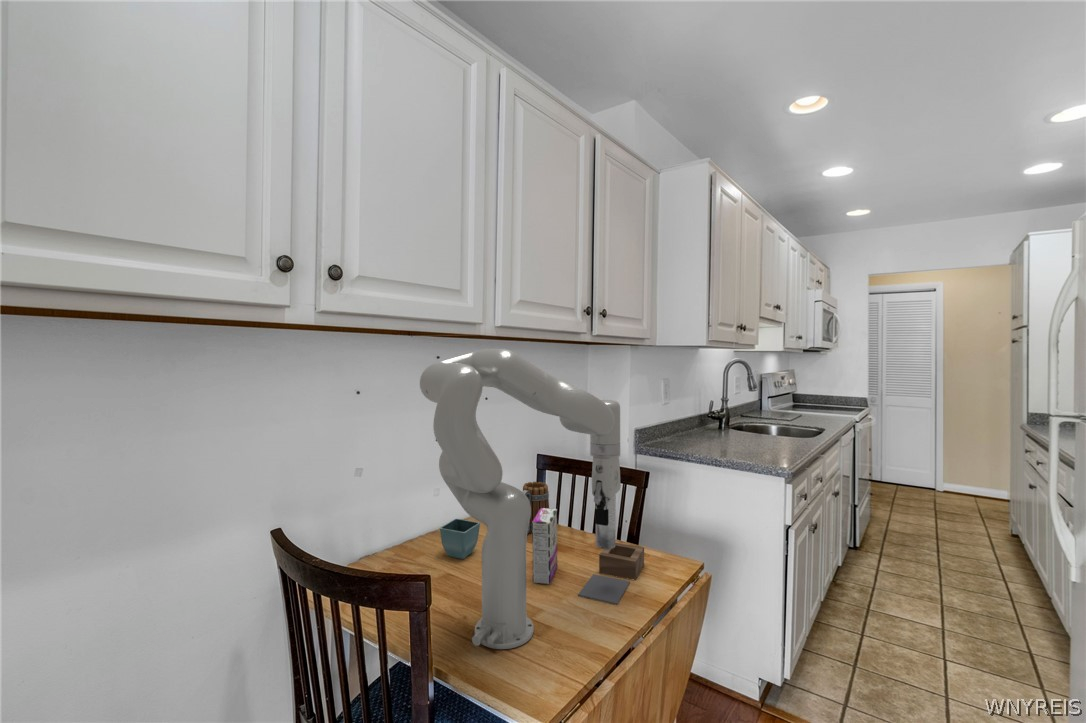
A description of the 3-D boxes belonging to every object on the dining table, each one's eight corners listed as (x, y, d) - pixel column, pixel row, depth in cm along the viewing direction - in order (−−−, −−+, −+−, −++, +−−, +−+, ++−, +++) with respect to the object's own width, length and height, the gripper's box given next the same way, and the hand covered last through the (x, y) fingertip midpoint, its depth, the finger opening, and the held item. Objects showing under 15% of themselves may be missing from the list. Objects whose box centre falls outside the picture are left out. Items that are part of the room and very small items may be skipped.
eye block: (635, 580, 127) (635, 561, 127) (599, 573, 131) (599, 554, 131) (644, 565, 136) (644, 547, 136) (609, 558, 140) (609, 541, 140)
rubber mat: (617, 604, 115) (617, 603, 115) (577, 596, 119) (577, 594, 119) (629, 582, 126) (629, 581, 126) (593, 575, 130) (593, 573, 130)
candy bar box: (540, 564, 136) (540, 507, 136) (557, 566, 135) (557, 508, 135) (531, 583, 125) (531, 520, 125) (550, 585, 124) (550, 522, 124)
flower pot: (464, 563, 137) (464, 532, 137) (439, 558, 140) (438, 527, 140) (480, 551, 145) (480, 522, 145) (455, 547, 149) (455, 518, 148)
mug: (528, 521, 171) (528, 479, 171) (555, 526, 167) (556, 482, 166) (506, 536, 157) (506, 490, 157) (535, 542, 153) (535, 494, 152)
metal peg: (612, 550, 119) (612, 494, 118) (593, 547, 121) (593, 491, 121) (617, 543, 123) (617, 488, 123) (599, 539, 126) (599, 486, 125)
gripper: (609, 457, 112) (610, 535, 113) (628, 444, 128) (628, 512, 128) (579, 454, 115) (579, 530, 116) (601, 442, 131) (601, 508, 131)
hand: (605, 520), depth 122 cm, fingers closed on metal peg, 5 cm apart
